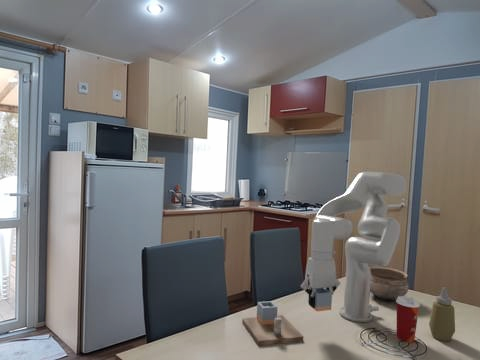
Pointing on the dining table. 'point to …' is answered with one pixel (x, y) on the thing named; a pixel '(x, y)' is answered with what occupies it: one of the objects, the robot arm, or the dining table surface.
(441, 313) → the squeeze bottle
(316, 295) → the sleeve
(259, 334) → the pin board
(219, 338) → the dining table surface
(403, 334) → the paper cup
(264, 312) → the sleeve
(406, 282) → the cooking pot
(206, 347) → the dining table surface
